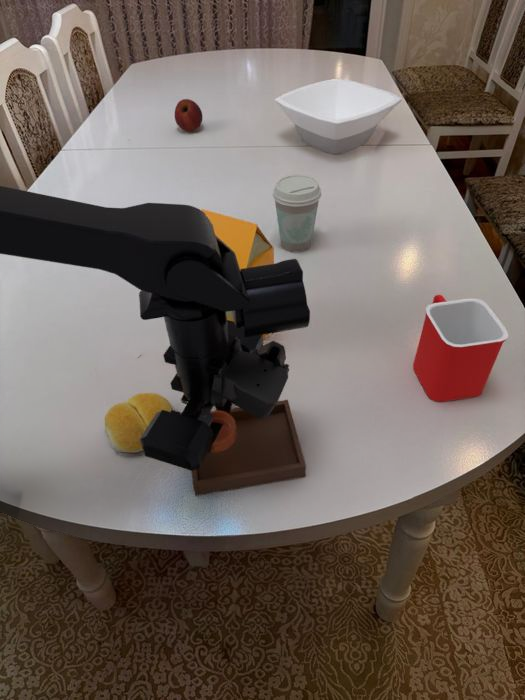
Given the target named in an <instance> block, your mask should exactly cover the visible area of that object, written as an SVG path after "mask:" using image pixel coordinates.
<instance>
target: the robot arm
mask: <svg viewBox="0 0 525 700" xmlns="http://www.w3.org/2000/svg"><path fill="white" fill-rule="evenodd" d="M201 210H202V209H200V208H198V207H195V206H193V205H189V204H181V203H179V204H178V203H163V202H161V203H160V202H145V203H141V204H137V205H131V206H128V207H109V206H108V207H106V206H100V205H96V204H91V203H88V202H82V201H76V200H73V199H72V200H71V199H67V198H62V197H57V196H52V195H49V194H48V195H47V194H42V193H37V192H34V191H33V192H31V191H27V190H22V189H18V188H13V187H9V186H3V185H0V255H4V256H5V255H6V256H11V257H17V258H24V259H30V260H37V261H42V262H49V263H55V264H63V265H68V266H69V265H70V266H75V267H82V268H88V269H94V270H99V271H104V272H107V273H110V274H113V275H116V276H117V277H119V278H120V279H122V280H124V281H125V282H126V283H128V284H130V285H131V286H133V287H135V288H136V289H138V290H140V291H139V293H138V295H139V296H138V297H139V298H138V299H139V316H140V319H141V320H143V321H149V320H154V319H160V318H163V319H164V324H165V328H166V332H167V336H168V341H169V346H168V347H167V348H166V350H165V352H163V360H164V363H166V364H170V365H174V367H175V371H176V374H174V377H173V378H172V379H171V381H170V387H171V390H173V391H176V392H179V393H183V395H182V396H181V398H180V402H181V403H182V404H183V405H185V406H184V408H183V410H182V411H177V410H175V409H174V410H171V411H170V412H169V411H165V410H161V411H159V412H158V413H156V414H155V416H154V418H153V419H152V421H151V422H150V424H149V425H148V427H147V429H146V430H145V432H144V433H143V435H142V436H141V438H140V442H141V445H142V448H143V450H142V451H143V453H144V456H145V457H146V458H150V459H153V460H156V461H159V462H162V463H166V464H169V465H172V466H176V467H178V468H181V469H185V470H187V471H191V472H192V471H194V470H196V469H198V468H200V467H201V465H202V463H203V461H204V459H205V457H206V455H207V453H208V452H210V451H211V449H212V444H213V443H214V441H215V440H216V438H217V436H218V434H219V432H220V430H221V428H222V426H223V424H220V423H216V422H213V415H212V414H211V413H210V412H211V411H213V409H215V410H220V411H225V412H227V413H228V414H230V410H231V409H232V406H233V405H234V406H235V407H236V408H241V409H243V410H245V411H247V412H249V413H251V414H253V416H255V417H257V418H259V419H265V418H267V417H268V416H269V415H270V413H271V411H272V410H273V408H274V406H275V405H276V403H277V401H280V398H281V395H282V393H283V391H284V388H285V386H286V384H287V382H288V379H289V372H290V365H289V364H287V363H286V359H287V355H286V349H285V346H284V345H283V344H281V343H279V342H277V341H275V340H271V341H269V342H266V343H265V344H264V340H263V335H264V334H268V335H270V334H275V333H280V332H281V333H282V332H288V331H293V330H298V329H304V328H308V327H309V325H310V319H311V311H310V310H311V309H310V307H309V305H308V299H307V293H306V288H305V284H304V283H305V282H304V271H303V269H302V266H301V264H300V262H299V260H298V259H297V258H291V259H285V260H281V261H278V262H276V263H275V262H274V264H270V265H263V266H257V267H250V268H244V269H241V271H240V268H239V264H238V261H237V258H236V255H235V252H234V251H232V250H231V249H230V248H229V247H228V246H227V245H226V244H225V243H224V242H222V241H221V240H220V239H219V238H218V237H217V236H216V235H215V232H214V228H213V225H212V223H211V222H210V220H209V219H208V217H207V216H206V214H205V213H204V212H203V211H201ZM228 311H232V313H233V318H234V321H229V320H227V316H226V312H228Z"/></svg>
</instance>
